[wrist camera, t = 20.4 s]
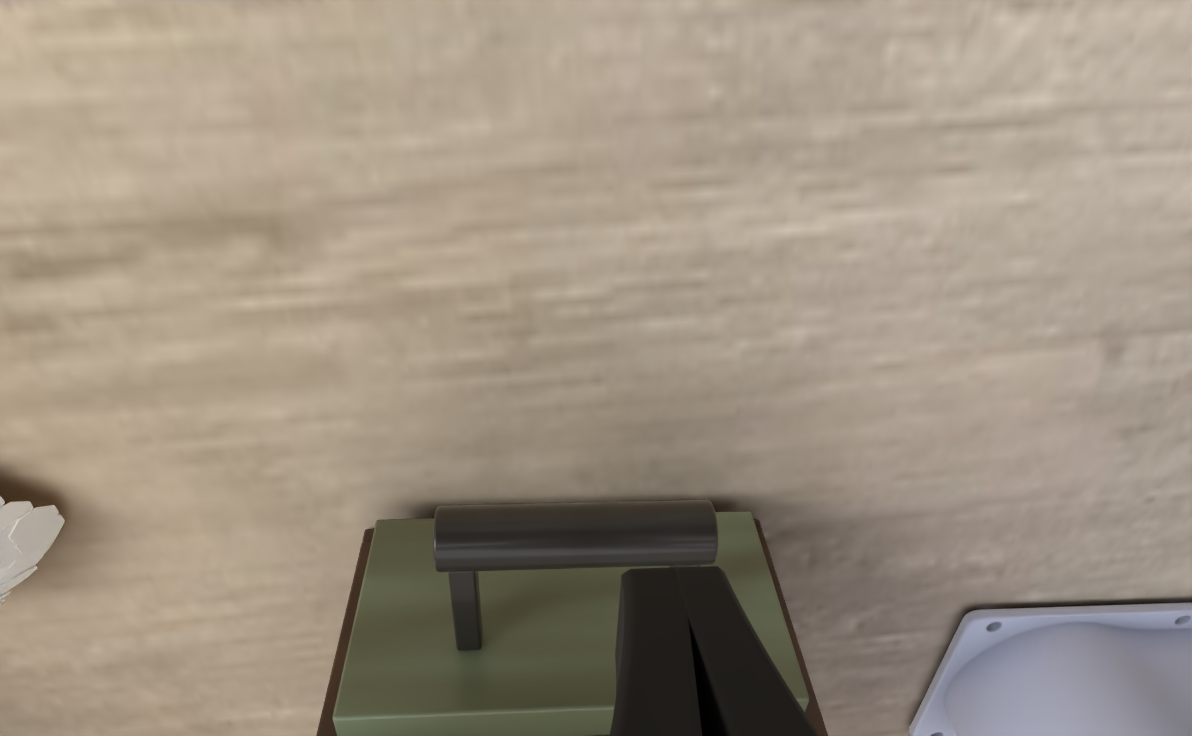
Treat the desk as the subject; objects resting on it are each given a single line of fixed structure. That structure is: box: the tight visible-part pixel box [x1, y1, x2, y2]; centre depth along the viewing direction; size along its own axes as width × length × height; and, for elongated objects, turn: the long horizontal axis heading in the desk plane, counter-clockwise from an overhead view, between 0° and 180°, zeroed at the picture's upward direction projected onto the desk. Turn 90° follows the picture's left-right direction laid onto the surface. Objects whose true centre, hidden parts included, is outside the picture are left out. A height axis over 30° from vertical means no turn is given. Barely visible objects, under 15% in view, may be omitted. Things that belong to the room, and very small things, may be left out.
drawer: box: [332, 500, 809, 736], centre depth 22 cm, size 16×11×6 cm, turn 178°
